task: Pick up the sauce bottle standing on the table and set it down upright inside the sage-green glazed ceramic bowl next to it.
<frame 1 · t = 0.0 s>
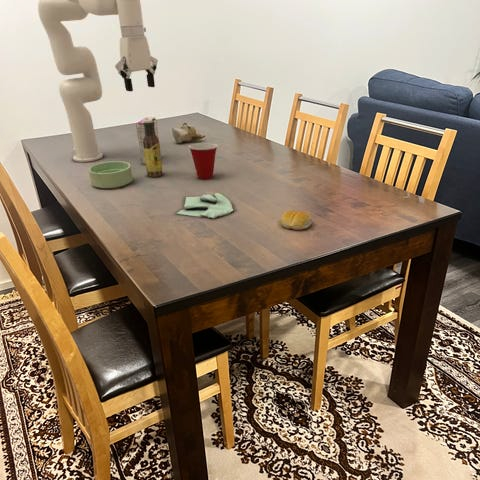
hand: (140, 88, 168), 31 cm above the table, tool pointing down, fingers open, 9 cm apart
plastic cup: (205, 177, 184), on the table
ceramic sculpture: (187, 141, 230), on the table
bowl: (112, 183, 182), on the table
sauce bottle: (155, 175, 188), on the table
candy bar box: (151, 161, 205), on the table
cloth: (206, 206, 159), on the table
bread roll: (296, 225, 143), on the table
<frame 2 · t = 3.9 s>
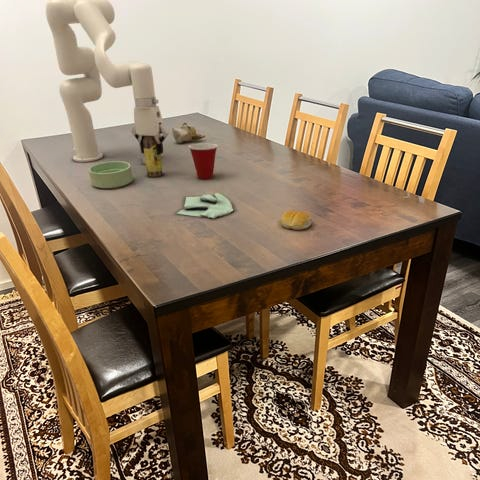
hand: (152, 152, 183), 9 cm above the table, tool pointing down, fingers closed on sauce bottle, 6 cm apart
sauce bottle: (155, 175, 188), on the table, touching gripper
everything else where it was.
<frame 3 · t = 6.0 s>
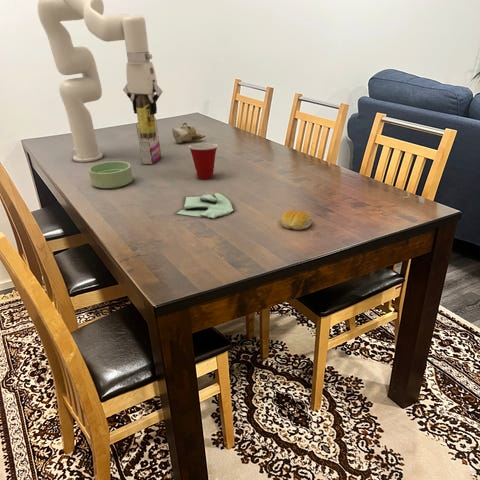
hand: (145, 112, 175), 23 cm above the table, tool pointing down, fingers closed on sauce bottle, 6 cm apart
sauce bottle: (148, 138, 180), point 14 cm above the table, touching gripper
everything else where it was.
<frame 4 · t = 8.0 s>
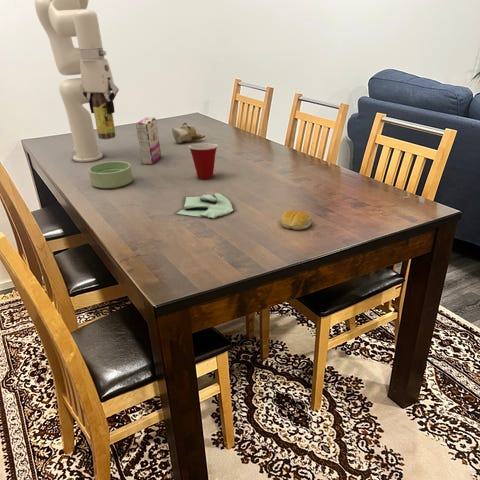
hand: (102, 112, 168), 25 cm above the table, tool pointing down, fingers closed on sauce bottle, 6 cm apart
sauce bottle: (107, 138, 173), point 16 cm above the table, touching gripper
everything else where it was.
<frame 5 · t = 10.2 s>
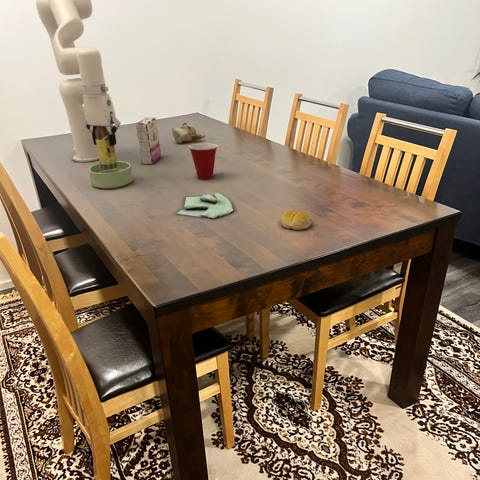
hand: (105, 144, 174), 14 cm above the table, tool pointing down, fingers closed on sauce bottle, 6 cm apart
sauce bottle: (109, 168, 178), point 6 cm above the table, touching gripper
everything else where it was.
when the fingers open (9 cm above the table, at t = 11.9 s): sauce bottle stays where it is, resting on bowl.
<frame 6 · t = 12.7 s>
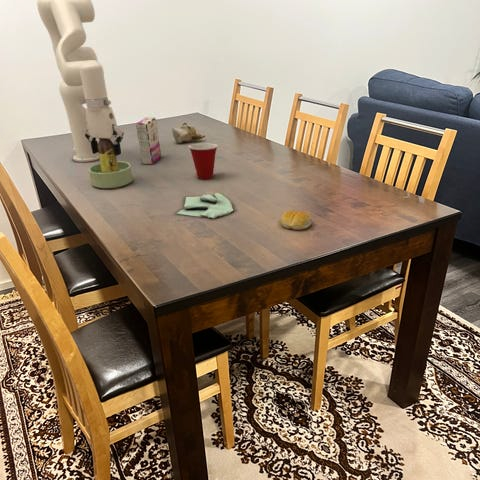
hand: (107, 153, 176), 11 cm above the table, tool pointing down, fingers open, 9 cm apart
sauce bottle: (112, 181, 181), point 1 cm above the table, touching bowl
everything else where it was.
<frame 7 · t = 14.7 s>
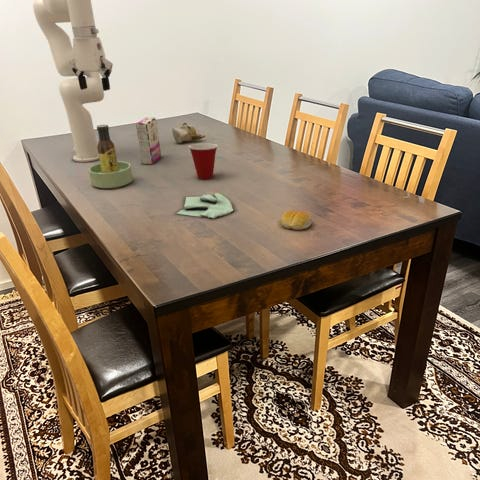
hand: (95, 89, 168), 32 cm above the table, tool pointing down, fingers open, 9 cm apart
nothing on the table moved.
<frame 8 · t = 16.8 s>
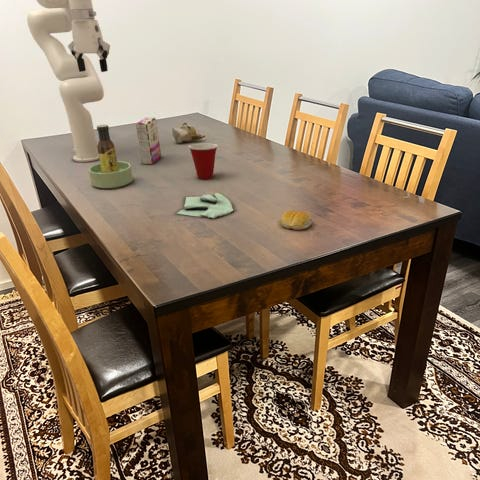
hand: (93, 71, 174), 36 cm above the table, tool pointing down, fingers open, 9 cm apart
nothing on the table moved.
at the end: sauce bottle inside the target area in the bowl (0.0 cm from its centre), point 0.6 cm above the bowl's base; sauce bottle tilted 0°; the gripper is holding nothing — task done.
